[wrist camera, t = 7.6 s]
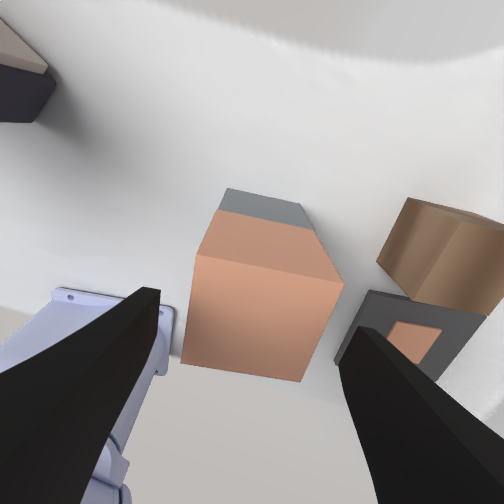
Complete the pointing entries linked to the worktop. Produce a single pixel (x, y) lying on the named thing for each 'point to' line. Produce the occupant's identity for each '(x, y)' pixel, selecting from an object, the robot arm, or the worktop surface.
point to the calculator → (21, 79)
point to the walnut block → (446, 257)
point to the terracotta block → (258, 297)
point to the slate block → (265, 208)
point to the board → (416, 329)
